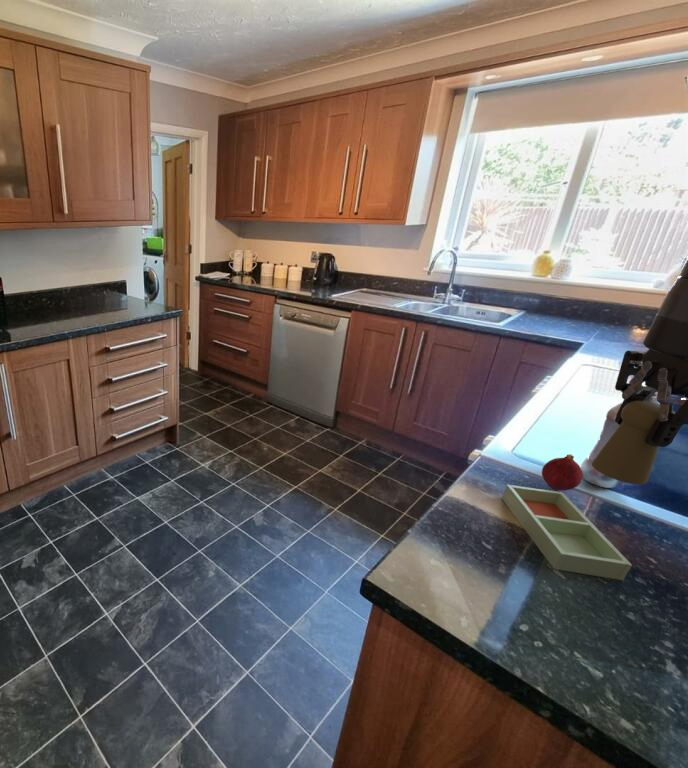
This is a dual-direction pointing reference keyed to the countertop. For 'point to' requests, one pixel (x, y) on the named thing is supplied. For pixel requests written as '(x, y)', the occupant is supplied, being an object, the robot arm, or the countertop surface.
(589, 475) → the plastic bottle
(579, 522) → the sorter
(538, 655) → the countertop surface
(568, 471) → the red round fruit
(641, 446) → the cork
